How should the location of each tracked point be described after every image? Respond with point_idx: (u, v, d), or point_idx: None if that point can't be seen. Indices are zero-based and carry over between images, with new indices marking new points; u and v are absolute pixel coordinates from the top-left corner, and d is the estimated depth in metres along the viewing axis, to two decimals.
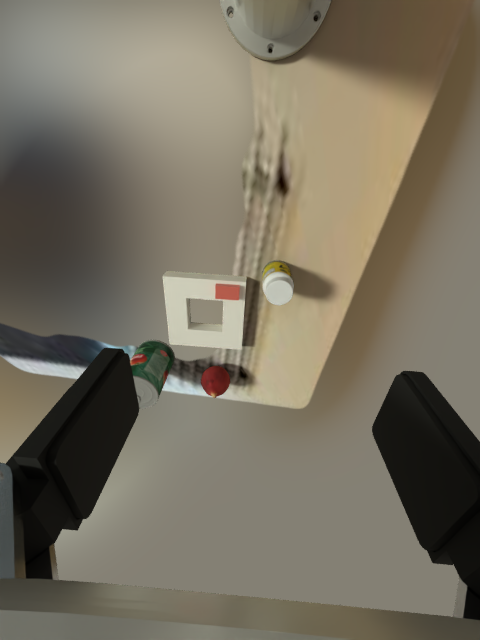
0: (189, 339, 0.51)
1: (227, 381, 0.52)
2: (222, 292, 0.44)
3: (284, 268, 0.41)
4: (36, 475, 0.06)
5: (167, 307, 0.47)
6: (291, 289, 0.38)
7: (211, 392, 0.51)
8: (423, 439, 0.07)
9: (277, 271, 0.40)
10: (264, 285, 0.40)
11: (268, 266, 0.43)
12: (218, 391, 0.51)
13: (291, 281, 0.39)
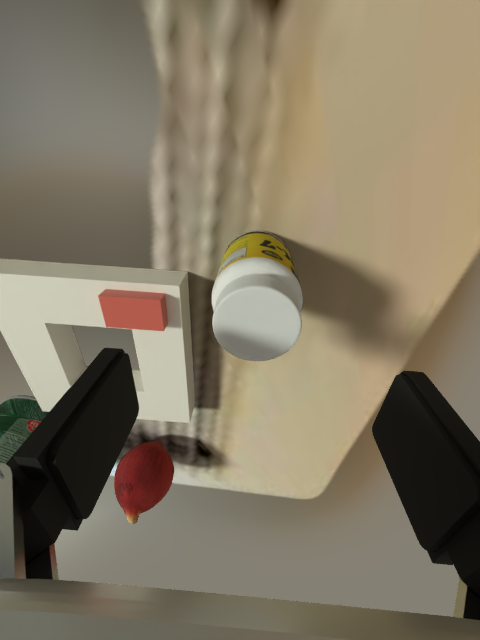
0: None
1: (163, 481, 0.26)
2: (119, 312, 0.17)
3: (275, 248, 0.15)
4: (36, 475, 0.06)
5: (10, 342, 0.21)
6: (296, 316, 0.11)
7: (127, 512, 0.24)
8: (423, 439, 0.07)
9: (252, 255, 0.13)
10: (214, 299, 0.13)
11: (234, 245, 0.16)
12: (144, 507, 0.25)
13: (296, 287, 0.13)
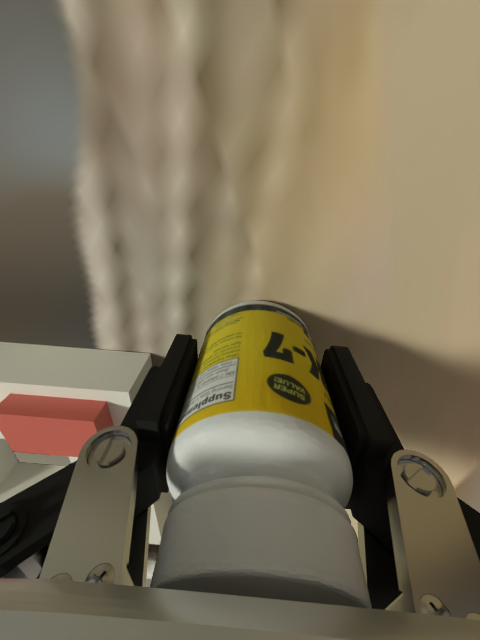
0: None
1: None
2: (30, 435, 0.11)
3: (293, 358, 0.08)
4: (150, 437, 0.07)
5: None
6: None
7: None
8: (336, 402, 0.08)
9: (249, 399, 0.06)
10: (170, 482, 0.06)
11: (218, 335, 0.09)
12: None
13: (343, 474, 0.06)
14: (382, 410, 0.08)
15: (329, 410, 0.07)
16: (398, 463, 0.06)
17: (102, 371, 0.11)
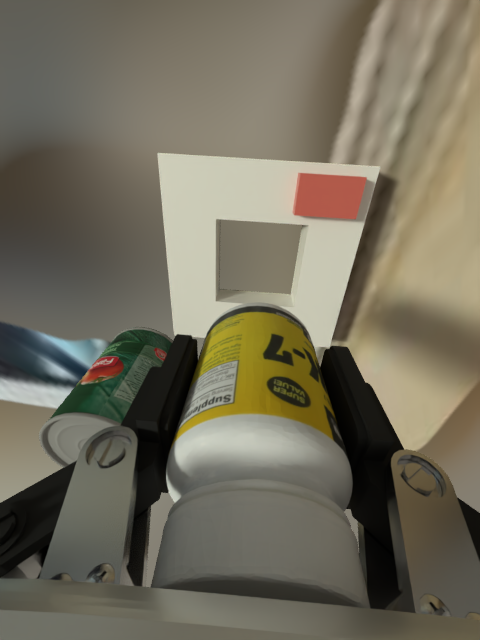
0: None
1: None
2: (316, 194, 0.17)
3: (292, 361, 0.08)
4: (150, 437, 0.07)
5: (169, 246, 0.20)
6: None
7: None
8: (335, 402, 0.08)
9: (248, 402, 0.06)
10: (170, 485, 0.06)
11: (218, 337, 0.09)
12: None
13: (342, 477, 0.06)
14: (382, 410, 0.08)
15: (329, 413, 0.07)
16: (398, 463, 0.06)
17: None
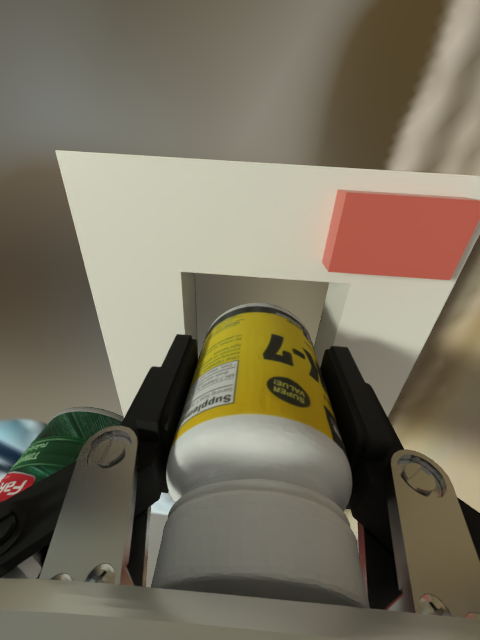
0: None
1: None
2: (376, 235, 0.08)
3: (292, 361, 0.08)
4: (150, 437, 0.07)
5: (103, 313, 0.11)
6: None
7: None
8: (335, 402, 0.08)
9: (248, 402, 0.06)
10: (170, 485, 0.06)
11: (218, 337, 0.09)
12: None
13: (342, 477, 0.06)
14: (382, 410, 0.08)
15: (328, 413, 0.07)
16: (398, 463, 0.06)
17: None
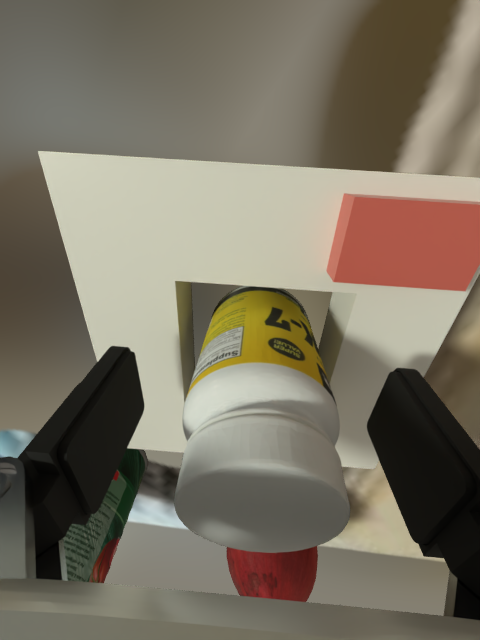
0: None
1: (315, 564, 0.16)
2: (386, 243, 0.07)
3: (290, 328, 0.09)
4: (47, 470, 0.06)
5: (93, 324, 0.11)
6: (341, 508, 0.06)
7: None
8: (415, 434, 0.07)
9: (253, 354, 0.07)
10: (186, 426, 0.08)
11: (224, 311, 0.10)
12: None
13: (330, 416, 0.07)
14: None
15: (320, 369, 0.08)
16: None
17: None
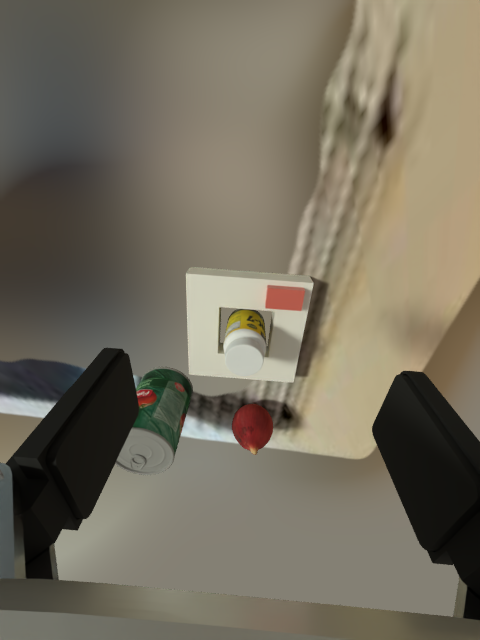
0: (218, 367, 0.35)
1: (270, 427, 0.36)
2: (277, 298, 0.29)
3: (254, 321, 0.30)
4: (36, 475, 0.06)
5: (189, 321, 0.32)
6: (261, 356, 0.27)
7: (250, 446, 0.34)
8: (423, 439, 0.07)
9: (242, 327, 0.28)
10: (225, 346, 0.29)
11: (234, 317, 0.32)
12: (260, 444, 0.35)
13: (262, 342, 0.28)
14: None
15: (261, 332, 0.29)
16: None
17: (297, 278, 0.30)
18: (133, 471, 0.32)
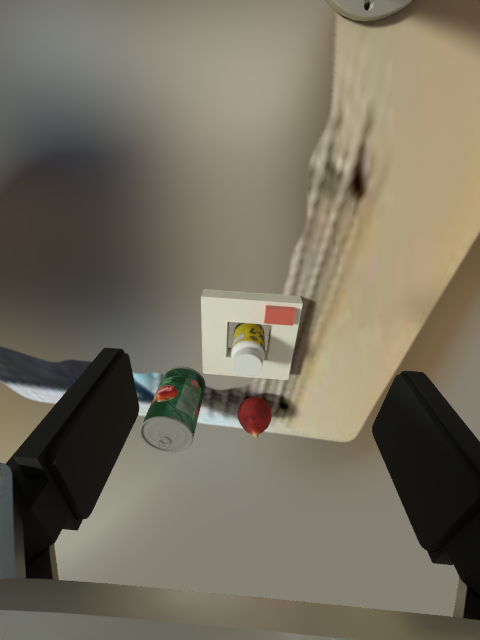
0: (226, 368, 0.43)
1: (269, 416, 0.45)
2: (273, 316, 0.36)
3: (255, 333, 0.38)
4: (36, 475, 0.06)
5: (203, 332, 0.39)
6: (260, 363, 0.34)
7: (252, 431, 0.43)
8: (423, 439, 0.07)
9: (246, 339, 0.36)
10: (232, 354, 0.36)
11: (239, 329, 0.39)
12: (261, 429, 0.43)
13: (261, 351, 0.36)
14: None
15: (261, 342, 0.37)
16: None
17: (290, 299, 0.37)
18: (161, 449, 0.41)
